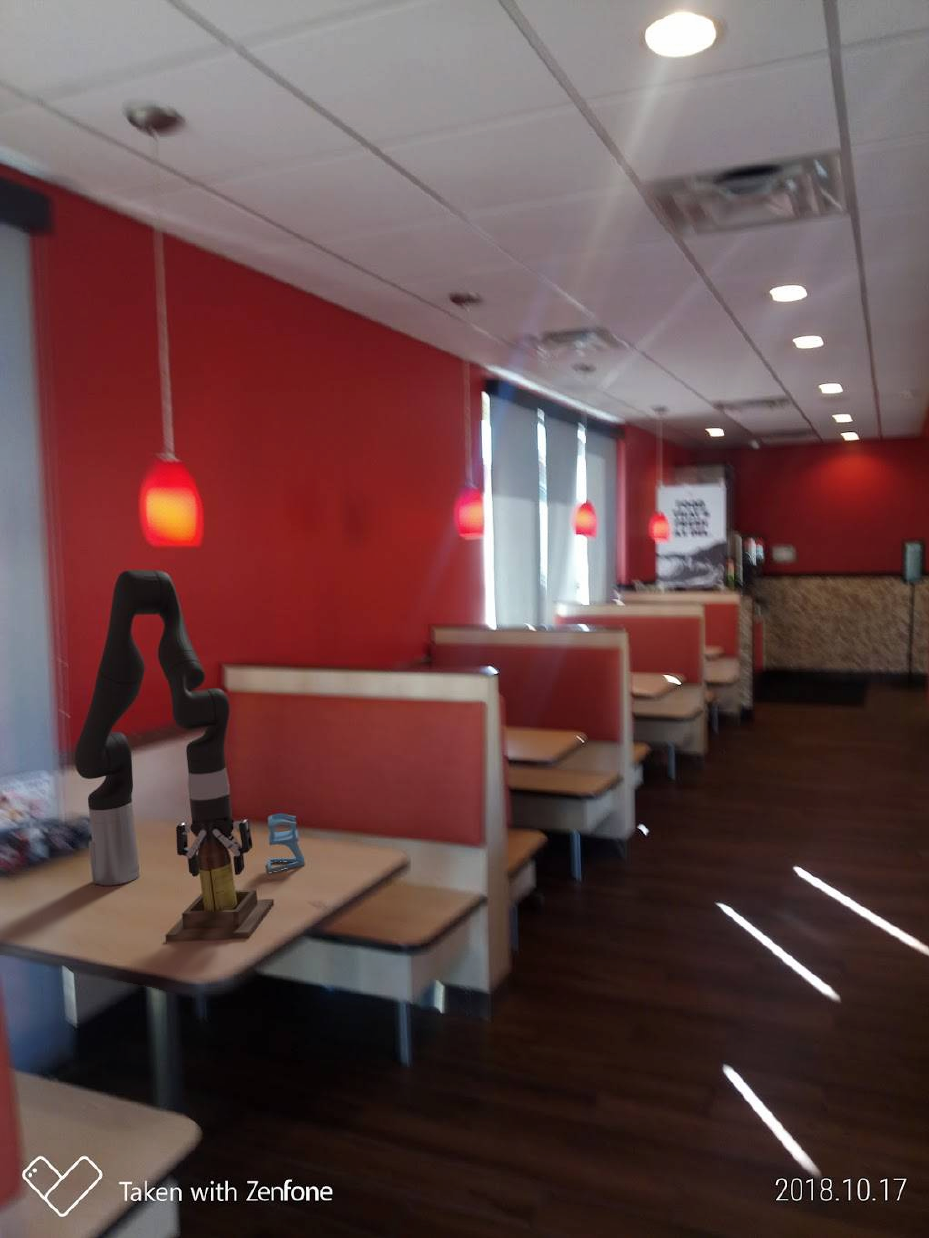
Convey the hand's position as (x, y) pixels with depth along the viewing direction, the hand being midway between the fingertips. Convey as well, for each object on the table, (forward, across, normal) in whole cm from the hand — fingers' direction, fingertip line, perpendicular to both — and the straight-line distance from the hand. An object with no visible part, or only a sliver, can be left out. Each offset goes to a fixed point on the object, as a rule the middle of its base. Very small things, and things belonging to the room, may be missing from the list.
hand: (217, 874), depth 182 cm
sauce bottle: (+9, 0, 0) cm, 9 cm away
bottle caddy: (+10, 0, 0) cm, 10 cm away
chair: (+10, +4, +31) cm, 33 cm away
